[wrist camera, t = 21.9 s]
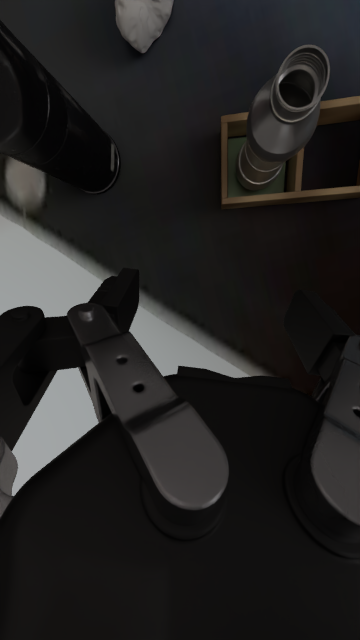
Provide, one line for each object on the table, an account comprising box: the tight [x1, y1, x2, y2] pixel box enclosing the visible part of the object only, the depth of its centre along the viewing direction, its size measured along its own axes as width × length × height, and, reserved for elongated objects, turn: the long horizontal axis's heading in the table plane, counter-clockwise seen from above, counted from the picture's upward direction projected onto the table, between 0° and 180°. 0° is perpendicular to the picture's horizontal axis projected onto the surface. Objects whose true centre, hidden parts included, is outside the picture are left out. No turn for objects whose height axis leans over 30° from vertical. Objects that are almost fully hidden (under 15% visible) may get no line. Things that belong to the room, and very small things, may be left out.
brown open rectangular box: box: [221, 96, 360, 209], centre depth 33 cm, size 20×11×4 cm, turn 94°
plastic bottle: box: [235, 45, 330, 190], centre depth 26 cm, size 6×7×20 cm
